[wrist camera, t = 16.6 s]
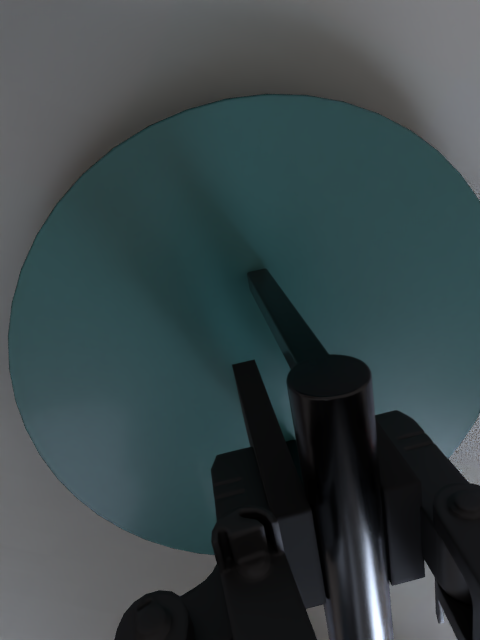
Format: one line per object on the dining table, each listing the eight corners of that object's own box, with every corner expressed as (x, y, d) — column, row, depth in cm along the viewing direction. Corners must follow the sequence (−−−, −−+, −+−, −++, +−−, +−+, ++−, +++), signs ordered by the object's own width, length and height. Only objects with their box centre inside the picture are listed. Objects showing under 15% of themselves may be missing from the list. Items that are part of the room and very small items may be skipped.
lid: (105, 577, 21) (58, 894, 12) (-75, 160, 14) (-497, 200, 5) (484, 480, 22) (691, 708, 13) (497, 46, 15) (962, -83, 6)
